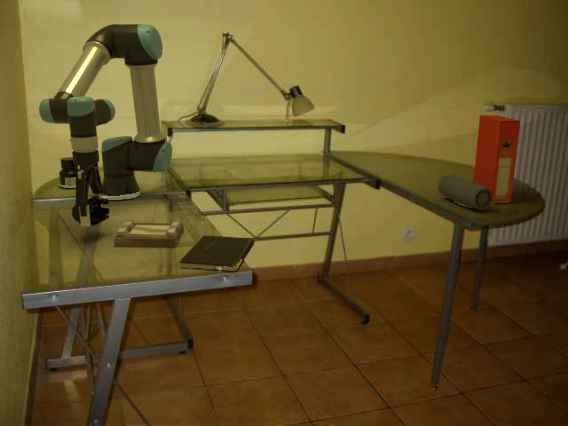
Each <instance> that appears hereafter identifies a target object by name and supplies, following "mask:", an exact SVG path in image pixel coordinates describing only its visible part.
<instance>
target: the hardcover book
mask: <svg viewBox="0 0 568 426" xmlns="http://www.w3.org/2000/svg"><path fill="white" fill-rule="evenodd" d="M254 245H255V239H254V238H251V237H238V236H237V237H235V236H223V235H222V236H220V235H205V234H204V235H202V236H201V238H200V239H199V240H198V241H197V242H196V243H195V244H194V245H193V246H192V248H190V249H189V251H188V252H187V253H186V254H185V255H183V257H182V258H181V259H180V260H179V261H178V264H180V267H181V266H185V267H191V268H190V269H192V268H212V267H220V266H223V267H224V266H227V267H233V266H236V264H237V263H238V262H239V261H240V259H242V260H243V262H244V261H245V259H246V258H247V256H248V254H249V253H250V251H251V250H252V248H253V247H254Z"/></svg>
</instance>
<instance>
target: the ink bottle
mask: <svg viewBox="0 0 568 426" xmlns="http://www.w3.org/2000/svg"><path fill="white" fill-rule="evenodd" d="M79 167H80V166H79V165H76V164H74V163H73V156H71V157H70V156H67V157H65V156H64V157H61V158H60V168H61V170H59V172H58V176H59V185H60V184H61V185H68V186H73V185H76V176H75V173H76V172H79Z"/></svg>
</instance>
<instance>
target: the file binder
mask: <svg viewBox="0 0 568 426" xmlns="http://www.w3.org/2000/svg"><path fill="white" fill-rule="evenodd" d="M520 127H521V120H519V119H516V118H515V119H514V118H511V117H506V116H504V115H499V114H483V115H482V114H481V115H479V121H478V131H477V132H478V133H477V141H476V142H477V143H476V151H475V152H476V153H475V162H474V173H473V181H472V182H475V183H477V184H480V185H482V186H484V187H486V188H488V189H490V190H491V192H492V195H493V200H492V202H501V201H511V202H512V198H513V197H512V195H513V187H514V178H515V170H516V169H515V168H516V163H517V161H516V160H517V151H518V145H519V135H520Z"/></svg>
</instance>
